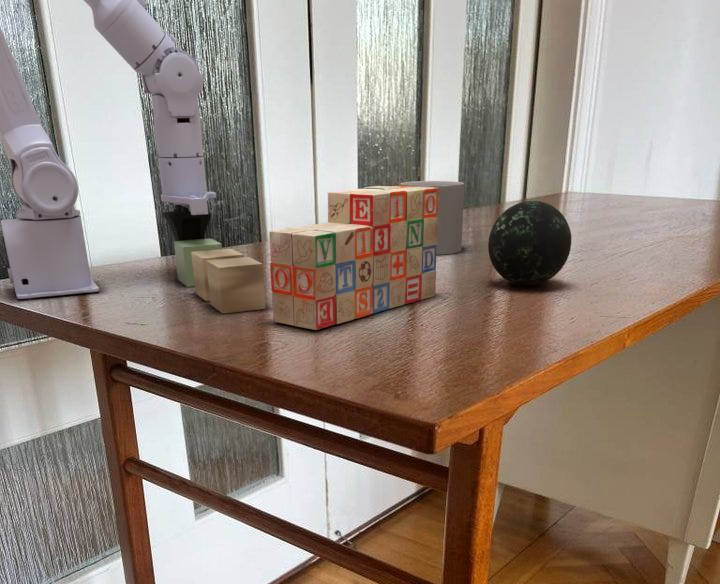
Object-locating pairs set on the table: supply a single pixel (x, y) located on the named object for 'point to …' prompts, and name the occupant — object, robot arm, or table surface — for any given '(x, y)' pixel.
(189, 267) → the sage block
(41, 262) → the robot arm
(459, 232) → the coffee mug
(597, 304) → the table surface
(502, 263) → the decorative stone
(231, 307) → the front birch block
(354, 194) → the stack of blocks
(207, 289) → the middle birch block
